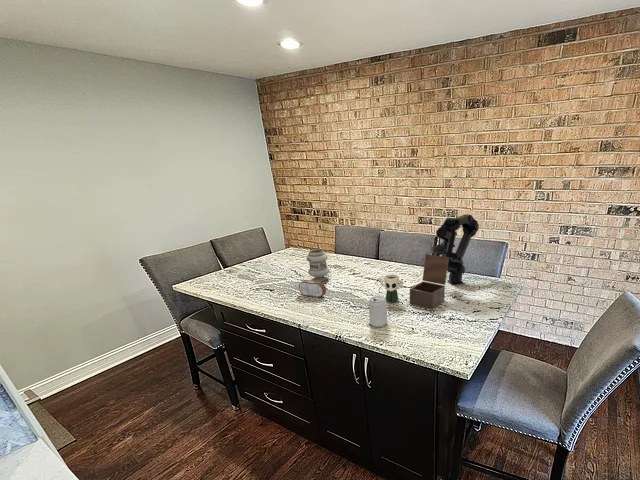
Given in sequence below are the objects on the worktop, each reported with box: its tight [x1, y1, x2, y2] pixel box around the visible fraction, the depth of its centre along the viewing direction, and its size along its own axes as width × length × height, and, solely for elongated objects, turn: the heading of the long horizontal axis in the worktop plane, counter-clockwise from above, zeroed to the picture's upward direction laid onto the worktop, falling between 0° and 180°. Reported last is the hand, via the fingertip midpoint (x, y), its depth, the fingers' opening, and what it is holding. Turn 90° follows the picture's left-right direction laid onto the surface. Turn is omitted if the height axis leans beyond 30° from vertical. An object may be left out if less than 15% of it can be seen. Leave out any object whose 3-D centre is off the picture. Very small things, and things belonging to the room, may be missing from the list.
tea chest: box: [409, 281, 446, 310], centre depth 166 cm, size 13×13×8 cm
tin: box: [298, 279, 327, 298], centre depth 175 cm, size 15×3×8 cm, turn 71°
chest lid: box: [422, 253, 449, 286], centre depth 167 cm, size 13×13×1 cm
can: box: [368, 295, 388, 328], centre depth 144 cm, size 8×8×12 cm
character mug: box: [380, 273, 404, 303], centre depth 167 cm, size 11×7×13 cm, turn 83°
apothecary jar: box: [306, 248, 330, 284], centre depth 196 cm, size 12×12×18 cm
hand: (442, 271), depth 175 cm, fingers closed
